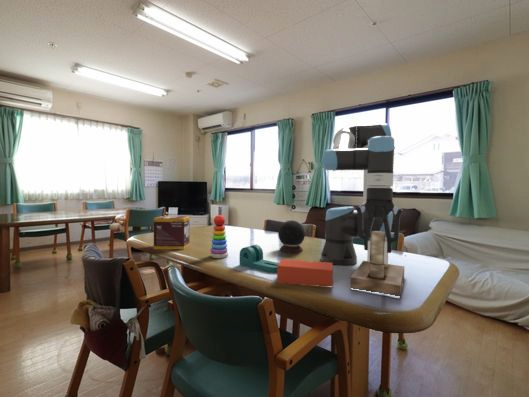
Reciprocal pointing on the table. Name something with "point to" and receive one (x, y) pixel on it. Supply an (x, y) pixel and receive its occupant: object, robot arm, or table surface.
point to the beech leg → (377, 254)
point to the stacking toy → (219, 239)
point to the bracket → (256, 259)
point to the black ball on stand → (291, 236)
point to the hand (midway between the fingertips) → (377, 261)
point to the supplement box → (171, 232)
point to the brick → (305, 272)
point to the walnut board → (379, 279)
